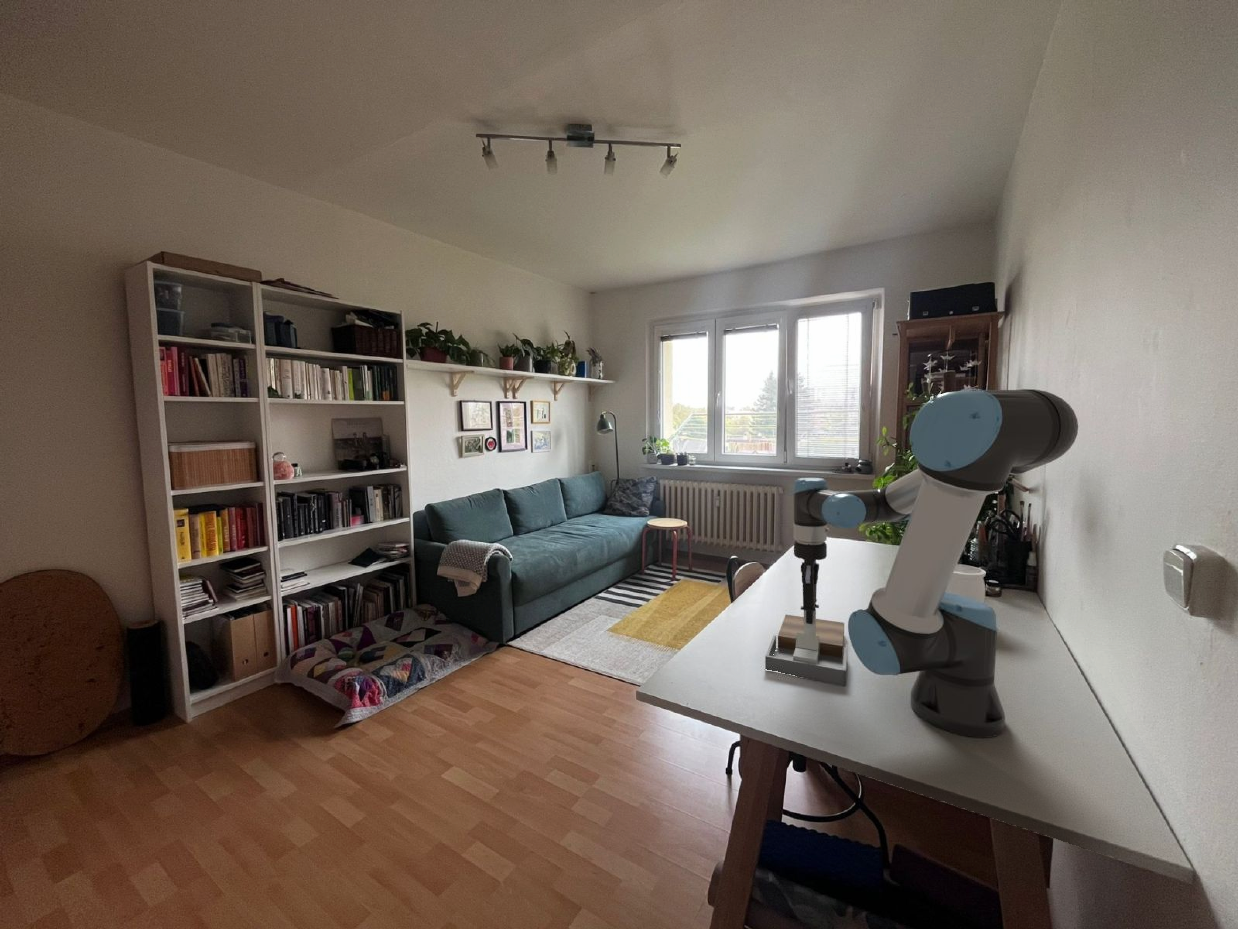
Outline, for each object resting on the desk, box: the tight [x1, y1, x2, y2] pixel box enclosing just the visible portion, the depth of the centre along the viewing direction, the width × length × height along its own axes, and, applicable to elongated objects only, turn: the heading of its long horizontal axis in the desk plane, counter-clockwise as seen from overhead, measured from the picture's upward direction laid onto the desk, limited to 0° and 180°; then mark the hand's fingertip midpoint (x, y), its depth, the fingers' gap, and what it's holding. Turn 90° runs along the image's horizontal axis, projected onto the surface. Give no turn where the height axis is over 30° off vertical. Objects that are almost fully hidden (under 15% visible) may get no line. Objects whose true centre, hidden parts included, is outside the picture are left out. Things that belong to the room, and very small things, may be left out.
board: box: [777, 614, 845, 658], centre depth 128 cm, size 15×15×4 cm
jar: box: [945, 563, 987, 603], centre depth 138 cm, size 11×10×15 cm
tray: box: [764, 634, 848, 687], centre depth 115 cm, size 12×17×4 cm
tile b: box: [796, 633, 820, 659], centre depth 118 cm, size 5×5×4 cm
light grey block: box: [793, 648, 818, 664], centre depth 113 cm, size 5×5×4 cm
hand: (809, 634), depth 121 cm, fingers closed
